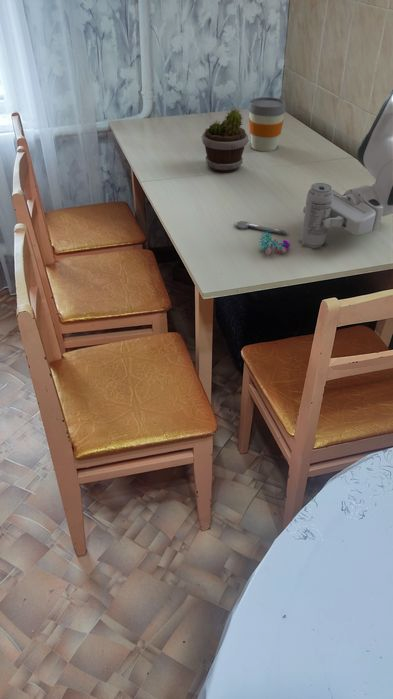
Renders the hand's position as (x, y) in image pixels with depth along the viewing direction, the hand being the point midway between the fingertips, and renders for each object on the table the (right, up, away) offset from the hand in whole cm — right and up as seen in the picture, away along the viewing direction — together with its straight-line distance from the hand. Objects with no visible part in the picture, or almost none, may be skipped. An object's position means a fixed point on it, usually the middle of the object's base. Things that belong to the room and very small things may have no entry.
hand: (314, 216), depth 134 cm
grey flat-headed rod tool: (-12, -1, +11) cm, 16 cm away
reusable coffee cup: (-5, +39, +60) cm, 72 cm away
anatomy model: (-10, -9, +1) cm, 13 cm away
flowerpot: (-20, +27, +45) cm, 56 cm away
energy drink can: (+1, -6, +5) cm, 8 cm away
